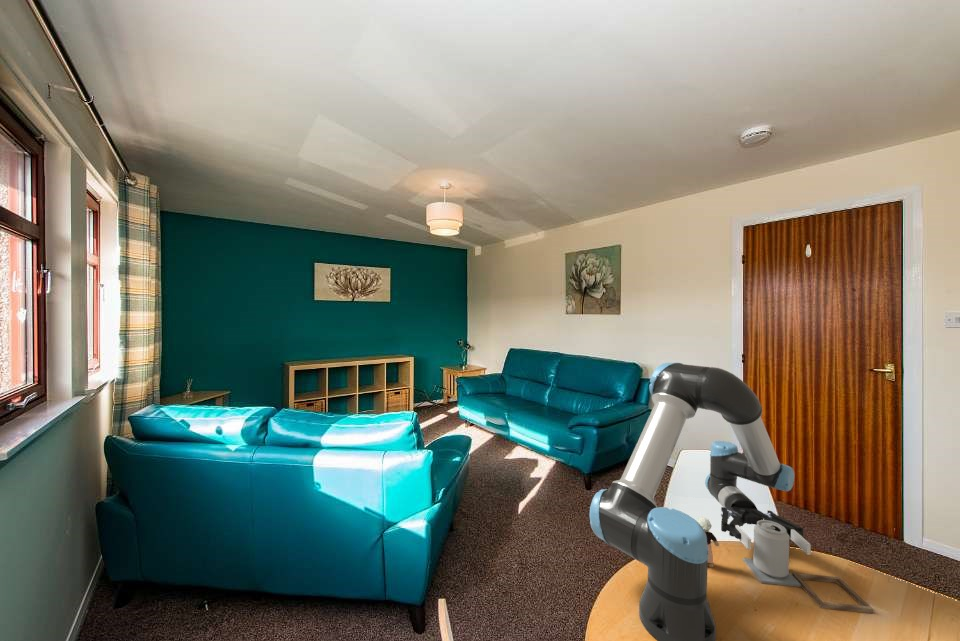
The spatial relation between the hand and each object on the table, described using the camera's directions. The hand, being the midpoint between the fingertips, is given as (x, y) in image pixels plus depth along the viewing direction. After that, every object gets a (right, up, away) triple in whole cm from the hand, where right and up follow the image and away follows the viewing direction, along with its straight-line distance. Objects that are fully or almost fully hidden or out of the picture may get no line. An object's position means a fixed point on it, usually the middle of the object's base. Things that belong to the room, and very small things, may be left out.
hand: (778, 547), depth 99 cm
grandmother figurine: (-15, -9, +7) cm, 19 cm away
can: (+1, -8, +4) cm, 9 cm away
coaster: (+1, -9, +4) cm, 10 cm away
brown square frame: (+10, -9, -4) cm, 14 cm away
